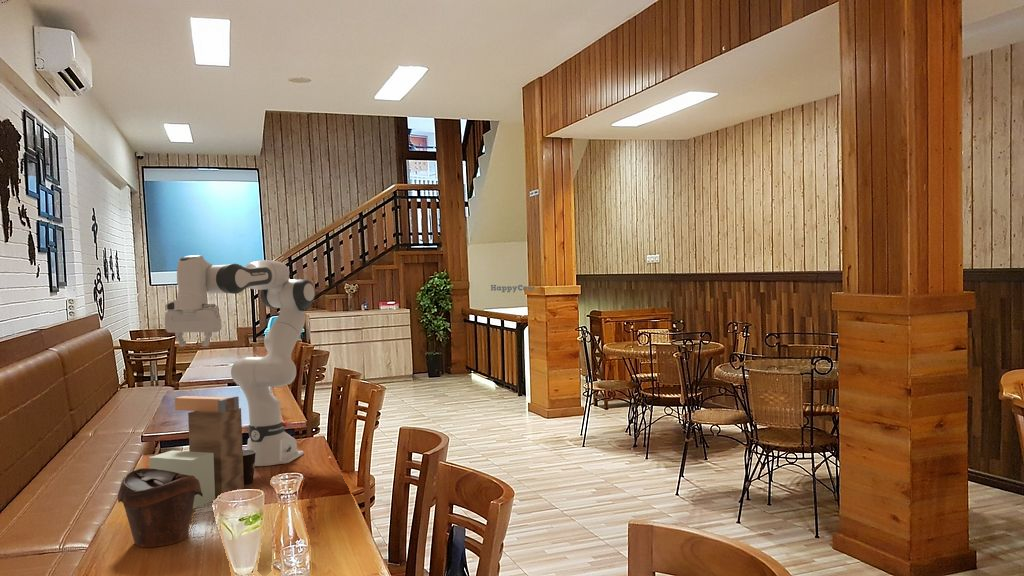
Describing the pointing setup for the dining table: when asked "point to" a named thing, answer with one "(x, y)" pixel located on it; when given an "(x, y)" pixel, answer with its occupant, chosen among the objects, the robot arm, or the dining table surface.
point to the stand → (219, 445)
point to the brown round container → (158, 505)
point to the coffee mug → (248, 466)
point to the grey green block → (190, 470)
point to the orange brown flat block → (207, 403)
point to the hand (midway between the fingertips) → (194, 346)
